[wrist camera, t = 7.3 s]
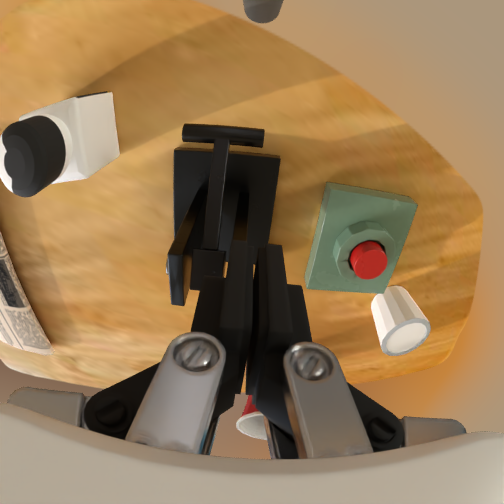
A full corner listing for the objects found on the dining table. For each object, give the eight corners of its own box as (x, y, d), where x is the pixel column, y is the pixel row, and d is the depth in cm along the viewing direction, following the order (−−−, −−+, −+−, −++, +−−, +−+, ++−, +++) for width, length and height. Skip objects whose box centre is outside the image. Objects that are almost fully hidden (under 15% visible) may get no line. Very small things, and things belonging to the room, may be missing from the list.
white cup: (417, 280, 36) (439, 316, 30) (403, 317, 39) (419, 353, 33) (373, 282, 36) (391, 321, 30) (361, 320, 39) (374, 359, 33)
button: (355, 238, 28) (360, 248, 27) (386, 242, 28) (392, 251, 27) (345, 268, 30) (349, 278, 29) (375, 271, 30) (381, 281, 29)
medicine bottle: (113, 90, 24) (38, 105, 14) (121, 156, 28) (57, 203, 17) (58, 104, 24) (-20, 130, 14) (68, 165, 28) (-1, 211, 18)
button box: (326, 181, 29) (335, 196, 26) (409, 196, 29) (425, 212, 26) (304, 277, 35) (308, 299, 32) (378, 283, 36) (388, 303, 32)
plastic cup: (225, 355, 44) (218, 425, 33) (288, 330, 40) (295, 406, 30) (262, 387, 48) (262, 448, 38) (319, 367, 45) (329, 432, 35)
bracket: (176, 147, 27) (125, 196, 16) (279, 155, 28) (295, 210, 17) (177, 251, 34) (145, 334, 23) (264, 259, 34) (267, 348, 23)
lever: (188, 129, 22) (182, 118, 20) (263, 135, 22) (265, 123, 20) (170, 282, 22) (162, 286, 20) (248, 290, 23) (249, 295, 20)
